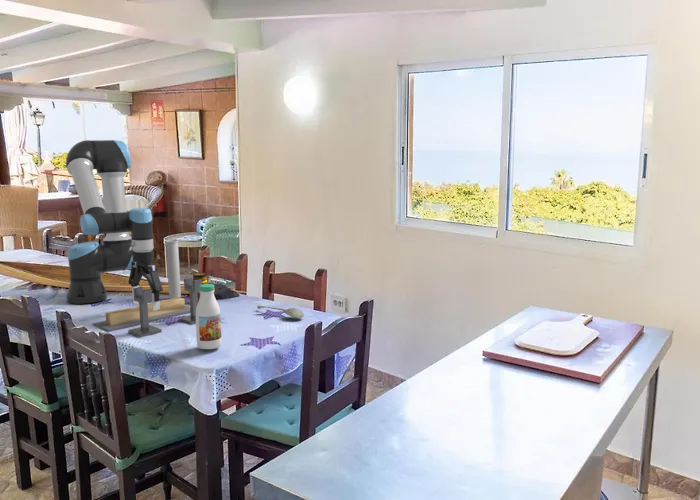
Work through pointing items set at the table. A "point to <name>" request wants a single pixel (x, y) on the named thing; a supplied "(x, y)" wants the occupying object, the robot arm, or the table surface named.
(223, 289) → the dark slate chunk
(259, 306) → the soupspoon
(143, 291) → the standards
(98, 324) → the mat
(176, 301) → the hang bar
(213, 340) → the milk bottle
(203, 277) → the condiment
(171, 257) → the tube
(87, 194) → the robot arm
